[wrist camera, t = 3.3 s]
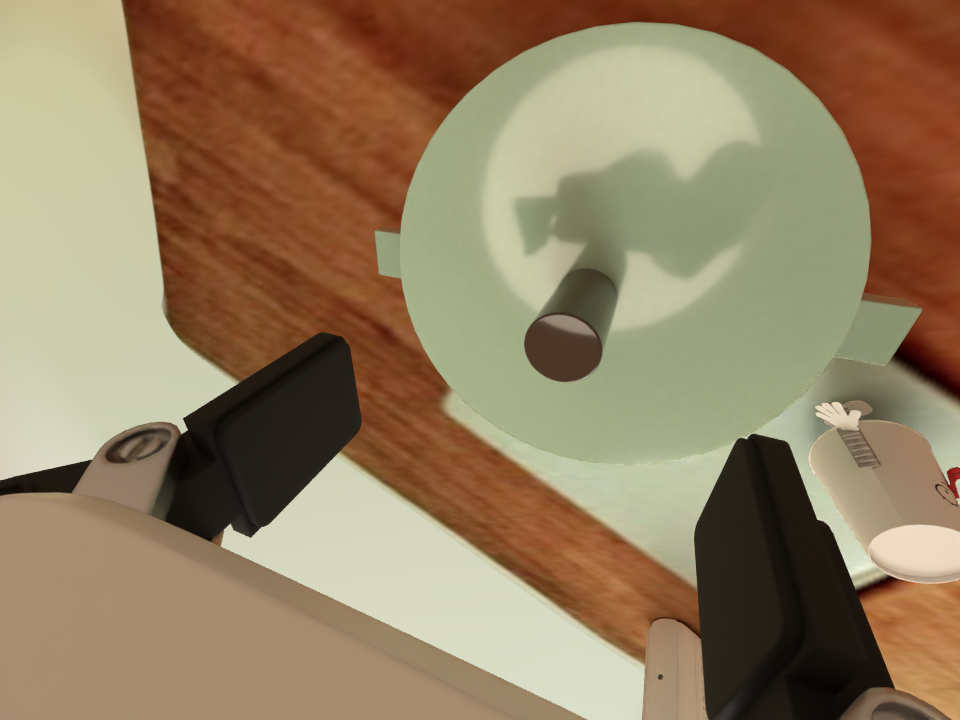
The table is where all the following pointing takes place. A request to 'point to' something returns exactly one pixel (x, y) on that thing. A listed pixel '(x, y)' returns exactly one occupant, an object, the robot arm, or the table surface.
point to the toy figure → (890, 493)
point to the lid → (635, 243)
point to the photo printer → (673, 673)
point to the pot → (866, 342)
